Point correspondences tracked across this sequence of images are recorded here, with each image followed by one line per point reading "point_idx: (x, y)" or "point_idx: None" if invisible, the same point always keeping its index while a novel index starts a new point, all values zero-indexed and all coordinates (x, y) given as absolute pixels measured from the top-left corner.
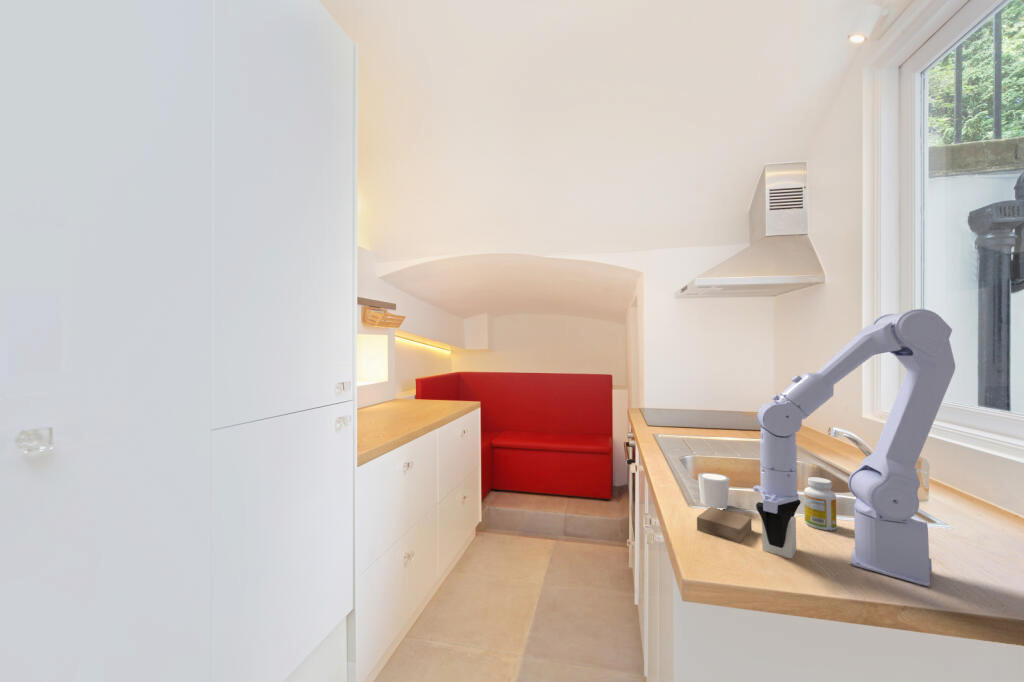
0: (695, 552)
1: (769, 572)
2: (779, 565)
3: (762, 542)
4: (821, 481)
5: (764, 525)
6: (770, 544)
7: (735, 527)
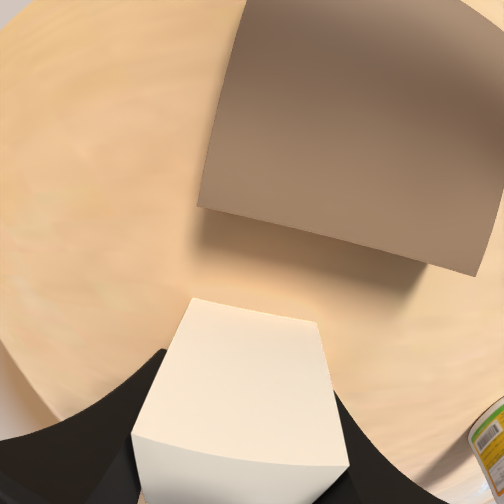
0: (21, 56)
1: (31, 302)
2: (95, 340)
3: (183, 318)
4: None
5: (98, 401)
6: (156, 352)
7: (221, 171)
